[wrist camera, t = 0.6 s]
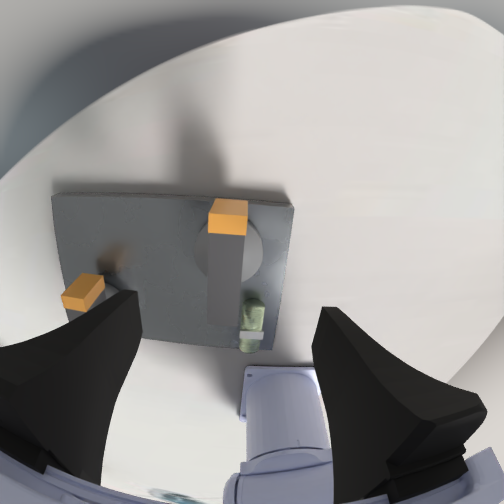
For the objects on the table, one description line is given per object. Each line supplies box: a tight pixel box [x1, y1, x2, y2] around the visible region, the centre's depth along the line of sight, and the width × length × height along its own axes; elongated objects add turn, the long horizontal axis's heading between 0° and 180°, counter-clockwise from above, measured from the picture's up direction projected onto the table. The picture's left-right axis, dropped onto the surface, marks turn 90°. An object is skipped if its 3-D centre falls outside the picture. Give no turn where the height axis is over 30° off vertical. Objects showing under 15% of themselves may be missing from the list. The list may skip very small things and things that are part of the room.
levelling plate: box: [51, 193, 294, 353], centre depth 20 cm, size 12×18×3 cm, turn 85°
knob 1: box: [61, 273, 119, 322], centre depth 19 cm, size 7×4×4 cm, turn 175°
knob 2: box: [194, 198, 263, 327], centre depth 17 cm, size 7×4×4 cm, turn 175°
